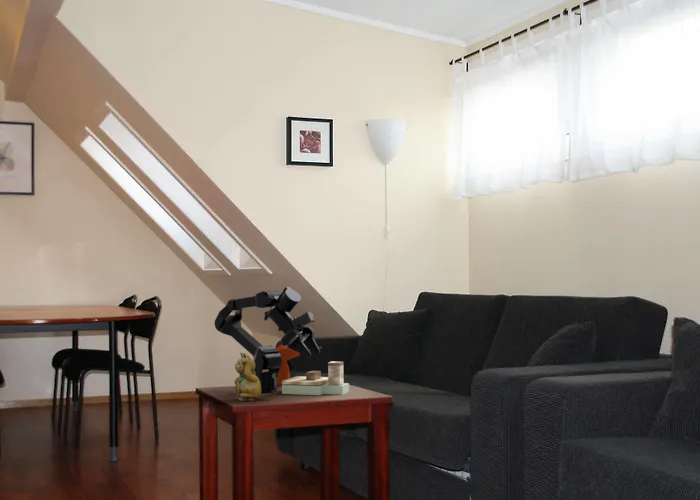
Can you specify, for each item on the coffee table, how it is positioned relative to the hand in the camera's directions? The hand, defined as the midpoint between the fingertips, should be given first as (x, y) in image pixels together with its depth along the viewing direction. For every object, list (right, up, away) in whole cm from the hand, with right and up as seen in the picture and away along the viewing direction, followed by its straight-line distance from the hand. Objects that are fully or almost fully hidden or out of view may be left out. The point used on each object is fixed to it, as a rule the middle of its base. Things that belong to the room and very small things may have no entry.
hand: (314, 354), depth 284 cm
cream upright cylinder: (+7, -12, -3) cm, 14 cm away
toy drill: (-8, -14, +26) cm, 31 cm away
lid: (-2, -9, 0) cm, 10 cm away
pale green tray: (+1, -13, -1) cm, 13 cm away
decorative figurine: (-21, -13, -10) cm, 27 cm away
